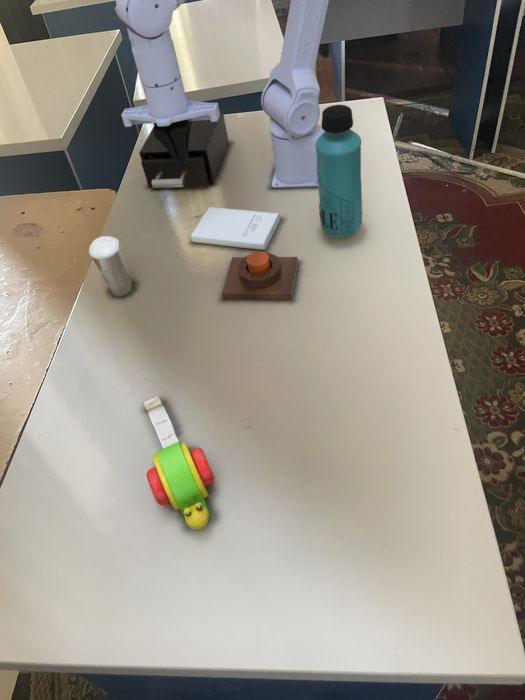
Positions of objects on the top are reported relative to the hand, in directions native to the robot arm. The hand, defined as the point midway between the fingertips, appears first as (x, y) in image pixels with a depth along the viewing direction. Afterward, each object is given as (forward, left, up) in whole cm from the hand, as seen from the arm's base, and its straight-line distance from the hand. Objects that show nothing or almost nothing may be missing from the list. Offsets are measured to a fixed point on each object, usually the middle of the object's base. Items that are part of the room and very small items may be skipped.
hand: (183, 164), depth 90 cm
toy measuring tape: (-9, +48, -10) cm, 50 cm away
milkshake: (+7, +19, -10) cm, 22 cm away
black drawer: (+5, -12, -9) cm, 15 cm away
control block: (-14, +17, -9) cm, 24 cm away
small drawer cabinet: (+5, -16, -9) cm, 19 cm away
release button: (-14, +17, -7) cm, 23 cm away
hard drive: (-8, +5, -10) cm, 13 cm away
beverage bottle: (-25, +6, -10) cm, 27 cm away
